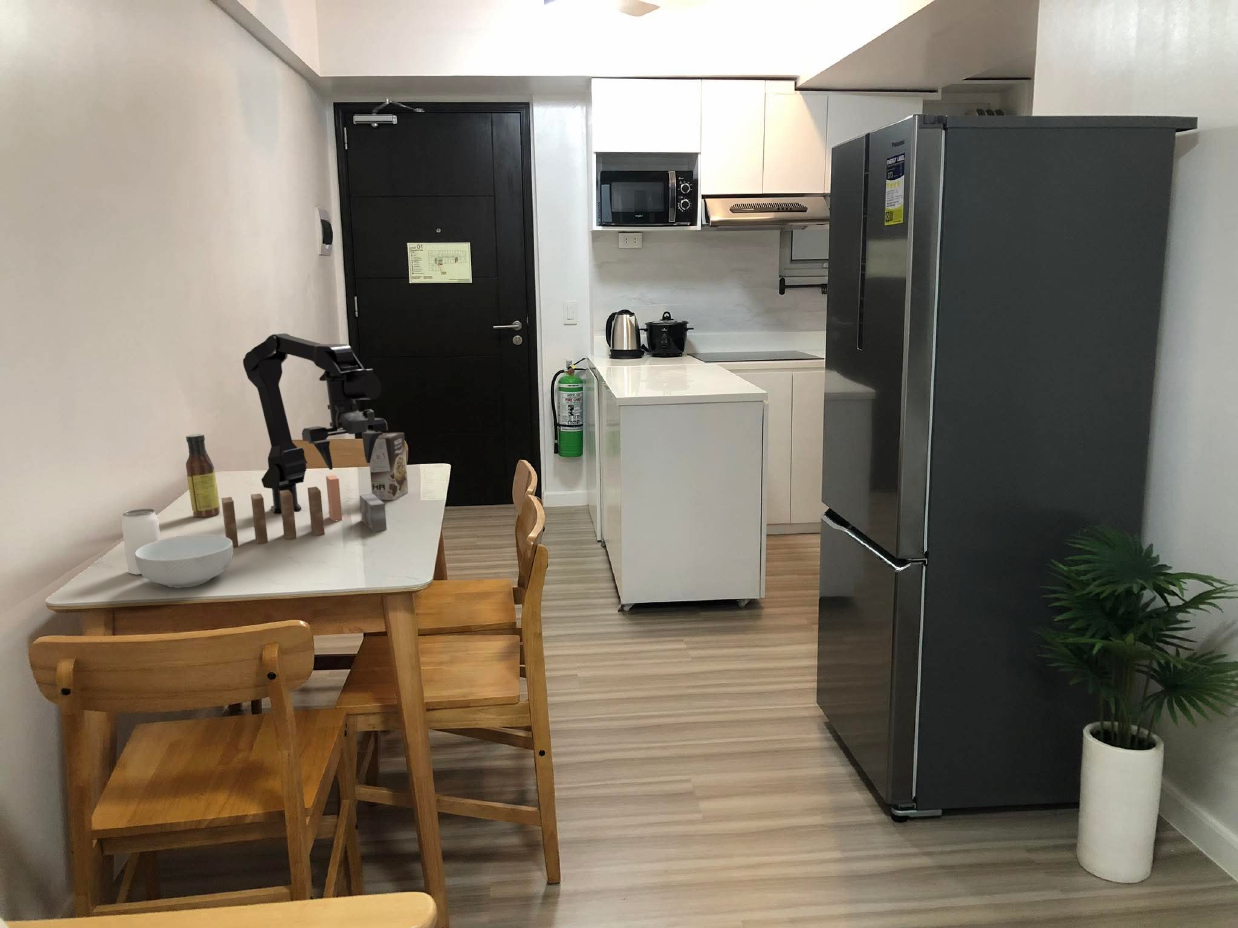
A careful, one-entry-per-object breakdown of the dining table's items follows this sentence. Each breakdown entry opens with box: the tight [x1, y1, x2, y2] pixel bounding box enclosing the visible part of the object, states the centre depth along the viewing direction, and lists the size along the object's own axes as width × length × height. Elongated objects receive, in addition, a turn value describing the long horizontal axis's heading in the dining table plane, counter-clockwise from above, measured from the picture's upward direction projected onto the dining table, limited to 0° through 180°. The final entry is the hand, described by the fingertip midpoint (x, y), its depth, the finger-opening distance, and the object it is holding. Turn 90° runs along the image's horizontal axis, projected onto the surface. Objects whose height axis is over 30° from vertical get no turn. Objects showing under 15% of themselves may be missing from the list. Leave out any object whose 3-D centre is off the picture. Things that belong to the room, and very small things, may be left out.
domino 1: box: [220, 496, 239, 549], centre depth 207 cm, size 2×5×10 cm, turn 27°
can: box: [121, 508, 162, 575], centre depth 189 cm, size 6×6×12 cm
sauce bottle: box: [185, 433, 221, 518], centre depth 232 cm, size 7×6×20 cm
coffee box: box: [369, 432, 409, 501], centre depth 248 cm, size 9×6×16 cm
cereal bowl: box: [135, 534, 234, 589], centre depth 182 cm, size 17×17×7 cm
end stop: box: [359, 493, 388, 533], centre depth 220 cm, size 12×3×6 cm, turn 27°
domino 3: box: [280, 490, 298, 541], centre depth 212 cm, size 2×5×10 cm, turn 27°
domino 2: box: [250, 493, 269, 545], centre depth 209 cm, size 2×5×10 cm, turn 27°
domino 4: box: [307, 486, 326, 537], centre depth 215 cm, size 2×5×10 cm, turn 27°
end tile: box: [325, 474, 343, 522], centre depth 227 cm, size 2×5×10 cm, turn 27°
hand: (349, 466), depth 224 cm, fingers open, 9 cm apart
